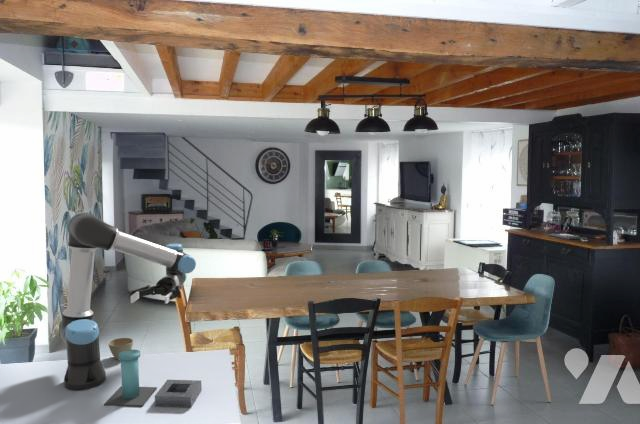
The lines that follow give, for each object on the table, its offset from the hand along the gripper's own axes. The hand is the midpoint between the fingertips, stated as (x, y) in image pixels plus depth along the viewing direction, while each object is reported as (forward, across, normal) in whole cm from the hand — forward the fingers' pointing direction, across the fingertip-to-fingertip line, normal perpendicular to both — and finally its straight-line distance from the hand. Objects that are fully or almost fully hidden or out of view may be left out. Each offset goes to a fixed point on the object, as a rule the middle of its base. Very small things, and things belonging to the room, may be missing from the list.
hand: (148, 300), depth 213 cm
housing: (+16, -16, -32) cm, 39 cm away
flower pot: (-19, +21, -32) cm, 43 cm away
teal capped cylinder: (+16, +2, -31) cm, 35 cm away
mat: (+16, +2, -32) cm, 36 cm away
